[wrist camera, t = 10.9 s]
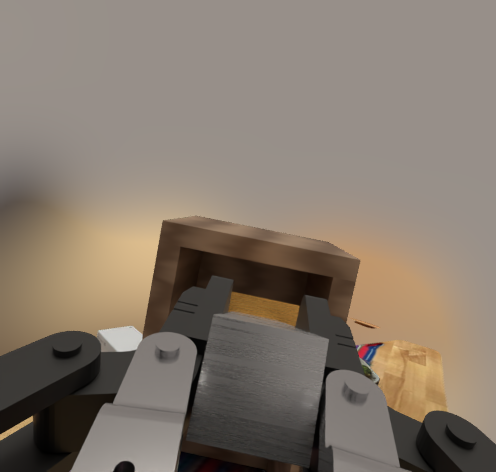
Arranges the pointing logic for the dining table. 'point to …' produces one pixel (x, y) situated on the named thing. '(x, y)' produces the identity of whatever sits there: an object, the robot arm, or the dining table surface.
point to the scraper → (259, 382)
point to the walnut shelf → (245, 283)
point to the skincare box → (119, 339)
